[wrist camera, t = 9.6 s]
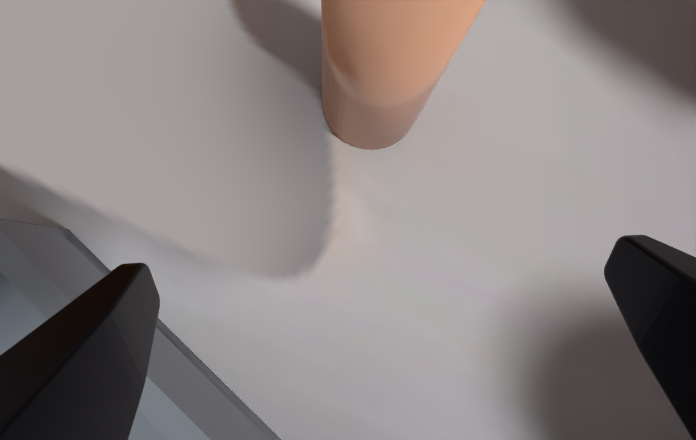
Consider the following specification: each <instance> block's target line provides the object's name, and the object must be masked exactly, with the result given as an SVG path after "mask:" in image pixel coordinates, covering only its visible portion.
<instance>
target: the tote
mask: <svg viewBox="0 0 696 440" xmlns="http://www.w3.org/2000/svg"><path fill="white" fill-rule="evenodd" d="M110 272H111V271H110V270H109V269H108V268H107V267H106V266H105V265H104V264H103V263H102V262H101V261H100V260H99V259H98V258H97V257H96V256H95V255H94V254H93V253H92V252H91V251H90V250H89V249H88V248H87V247H85V246H84V245H83V244H82V243H81V242H80V241H79V240H78V239H77V238H76V237H75V236H74V235H73V234H72V233H71V232H70V231H69V230H68V229H62V228H55V227H49V226H43V225H36V224H30V223H23V222H17V221H11V220H4V219H0V355H1V354H3V353H4V352H5V351H7V350H8V349H9V348H11V347H12V346H13V345H15V344H16V343H17V342H19V341H20V340H21V339H22V338H24V337H25V336H26V335H28V334H29V333H30V332H32V331H33V330H34V329H36V328H37V327H38V326H40V325H41V324H42V323H44V322H45V321H46V320H48V319H49V318H50V317H52V316H53V315H54V314H56V313H57V312H58V311H60V310H61V309H62V308H64V307H65V306H66V305H68V304H69V303H70V302H72V301H73V300H74V299H76V298H77V297H78V296H79V295H81V294H82V293H83V292H85V291H86V290H87V289H89V288H90V287H91V286H93V285H94V284H95V283H97V282H98V281H99V280H101V279H102V278H103V277H105V276H106V275H107V274H109V273H110ZM128 440H281V439H280V438H279V437H278V436H277V435H276V434H275V433H274V432H273V431H272V430H270V429H269V428H268V427H267V426H266V425H265V424H264V423H263V422H262V421H261V420H260V419H259V418H258V417H257V416H256V415H255V414H254V413H253V412H252V411H251V410H250V409H249V408H248V407H247V406H246V405H245V404H244V403H243V402H242V401H241V400H240V399H239V398H238V397H237V396H236V395H235V394H234V393H233V392H232V391H231V390H230V389H229V388H228V387H227V386H226V385H225V384H224V383H223V382H222V381H221V380H220V379H219V378H218V377H217V376H216V375H215V374H214V373H213V372H212V371H211V370H210V369H209V368H208V367H207V366H206V365H205V364H204V363H203V362H202V361H201V360H200V359H199V358H198V357H197V356H196V355H195V354H194V353H193V352H192V351H191V350H190V349H189V348H188V347H187V346H186V345H185V344H184V343H183V342H182V341H181V340H180V339H178V338H177V337H176V336H175V335H174V334H173V333H172V332H171V331H170V330H169V329H168V328H167V327H166V326H165V325H164V324H163V323H162V322H161V321H160V320H159V319H158V318H157V323H156V329H155V334H154V339H153V345H152V350H151V356H150V361H149V366H148V372H147V376H146V381H145V385H144V389H143V392H142V396H141V399H140V402H139V406H138V409H137V412H136V415H135V419H134V422H133V425H132V428H131V432H130V435H129V438H128Z"/></svg>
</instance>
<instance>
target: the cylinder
mask: <svg viewBox="0 0 696 440" xmlns="http://www.w3.org/2000/svg"><path fill="white" fill-rule="evenodd" d="M485 1H486V0H321V13H322V108H323V113H324V117H325V119H326V122H327V124H328V126H329V127H330V128H331V130H332V131H333V132H334V133H335V135H336V136H338V137H339V138H340V139H341V140H343V141H344V142H346V143H347V144H349V145H351V146H354V147H357V148H361V149H369V150H372V149H381V148H385V147H388V146H391V145H393V144H395V143H396V142H398V141H399V140H401V139H402V138H403V137H404V136H405V135H406V134H407V133H408V131H409V130H410V129H411V127H412V125H413V124H414V122H415V120H416V119H417V117H418V115H419V113H420V112H421V110H422V108H423V107H424V105H425V103H426V102H427V100H428V98H429V96H430V95H431V93H432V91H433V90H434V88H435V86H436V85H437V83H438V81H439V80H440V78H441V76H442V74H443V73H444V71H445V69H446V68H447V66H448V64H449V63H450V61H451V59H452V57H453V56H454V54H455V52H456V51H457V49H458V47H459V46H460V44H461V42H462V41H463V39H464V37H465V35H466V34H467V32H468V30H469V29H470V27H471V25H472V24H473V22H474V20H475V18H476V17H477V15H478V13H479V12H480V10H481V8H482V7H483V5H484V3H485Z"/></svg>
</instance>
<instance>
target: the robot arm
mask: <svg viewBox="0 0 696 440" xmlns="http://www.w3.org/2000/svg"><path fill="white" fill-rule="evenodd" d="M604 276H605V279H606V282H607V284H608V286H609V288H610V290H611V292H612V294H613V297H614V299H615V301H616V303H617V305H618V307H619V309H620V312H621V314H622V316H623V318H624V320H625V322H626V324H627V326H628V329H629V331H630V333H631V335H632V337H633V339H634V341H635V343H636V345H637V347H638V349H639V350H640V352H641V354H642V356H643V358H644V359H645V361H646V363H647V364H648V366H649V368H650V369H651V371H652V373H653V374H654V376H655V378H656V379H657V381H658V383H659V384H660V386H661V388H662V389H663V391H664V393H665V394H666V396H667V398H668V399H669V401H670V403H671V404H672V406H673V408H674V409H675V411H676V413H677V414H678V416H679V418H680V419H681V421H682V423H683V424H684V426H685V428H686V430H687V431H688V433H689V435H690V436H691V438H692V440H696V257H693V256H691V255H689V254H687V253H684V252H682V251H680V250H678V249H675V248H673V247H671V246H668V245H666V244H664V243H662V242H659V241H657V240H655V239H653V238H650V237H648V236H645V235H627V236H622V237H620V238H619V239H618V240H617V242H616V244H615V246H614V248H613V250H612V252H611V254H610V256H609V259H608V261H607V263H606V265H605V268H604ZM159 307H160V298H159V294H158V291H157V288H156V286H155V283H154V280H153V278H152V275H151V272H150V270H149V268H148V266H147V265H146V264H144V263H129V264H122V265H120V266H118V267H117V268H115V269H114V270H113V271H111V272H110V273H109V274H107V275H106V276H105V277H103V278H102V279H101V280H99V281H98V282H97V283H95V284H94V285H93V286H91V287H90V288H89V289H87V290H86V291H85V292H83V293H82V294H81V295H79V296H78V297H77V298H76V299H74V300H73V301H72V302H70V303H69V304H68V305H66V306H65V307H64V308H62V309H61V310H60V311H58V312H57V313H56V314H54V315H53V316H52V317H50V318H49V319H48V320H46V321H45V322H44V323H42V324H41V325H40V326H38V327H37V328H36V329H34V330H33V331H32V332H30V333H29V334H28V335H26V336H25V337H24V338H22V339H21V340H20V341H19V342H17V343H16V344H15V345H13V346H12V347H11V348H9V349H8V350H7V351H5V352H4V353H3V354H1V355H0V440H128V438H129V435H130V432H131V428H132V425H133V422H134V419H135V415H136V412H137V409H138V406H139V402H140V399H141V396H142V392H143V389H144V385H145V381H146V376H147V372H148V366H149V361H150V356H151V350H152V345H153V339H154V334H155V329H156V323H157V318H158V312H159Z"/></svg>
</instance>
